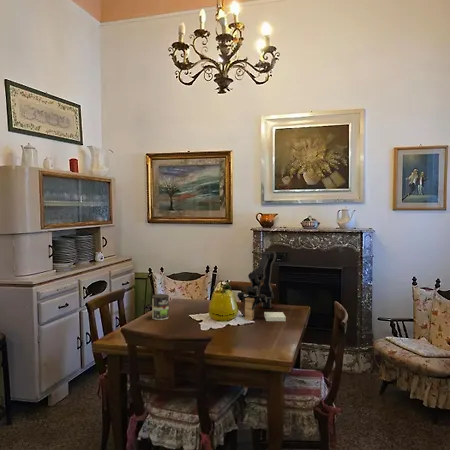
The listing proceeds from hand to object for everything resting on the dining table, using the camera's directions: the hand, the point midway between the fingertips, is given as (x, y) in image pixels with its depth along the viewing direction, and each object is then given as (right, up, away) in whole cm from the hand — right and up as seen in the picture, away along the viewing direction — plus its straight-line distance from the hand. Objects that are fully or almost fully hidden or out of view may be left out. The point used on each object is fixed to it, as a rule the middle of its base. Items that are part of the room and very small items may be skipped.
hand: (248, 308), depth 269 cm
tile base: (+16, -7, +3) cm, 18 cm away
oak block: (0, -7, +2) cm, 7 cm away
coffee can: (-56, -6, +2) cm, 56 cm away
